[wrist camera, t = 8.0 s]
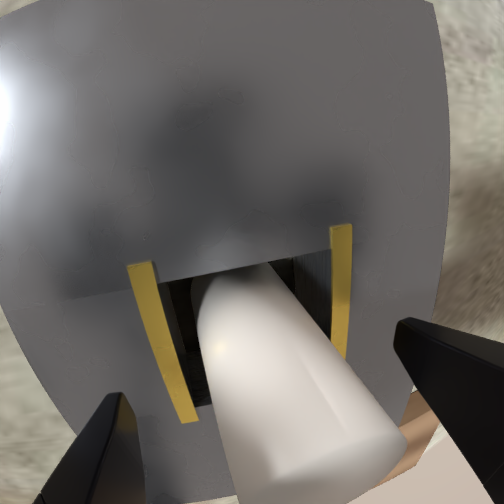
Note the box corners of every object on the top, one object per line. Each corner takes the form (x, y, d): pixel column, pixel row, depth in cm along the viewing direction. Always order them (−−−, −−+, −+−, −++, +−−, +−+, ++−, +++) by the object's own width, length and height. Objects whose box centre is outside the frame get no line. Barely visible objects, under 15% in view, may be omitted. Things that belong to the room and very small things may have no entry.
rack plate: (373, 403, 17) (399, 437, 14) (139, 464, 14) (142, 509, 11) (387, 22, 9) (440, 5, 6) (2, 58, 6) (-45, 41, 4)
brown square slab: (404, 451, 22) (415, 465, 20) (304, 495, 20) (313, 513, 18) (435, 380, 18) (451, 396, 16) (309, 436, 16) (321, 461, 14)
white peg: (279, 317, 12) (386, 485, 5) (199, 335, 12) (252, 534, 5) (273, 242, 11) (426, 404, 4) (182, 259, 11) (227, 480, 3)
